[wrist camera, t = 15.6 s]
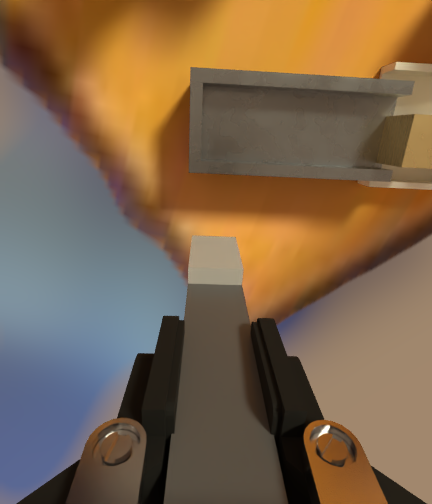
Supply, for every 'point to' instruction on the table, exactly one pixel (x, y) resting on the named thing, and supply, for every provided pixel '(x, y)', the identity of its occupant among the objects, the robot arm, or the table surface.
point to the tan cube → (406, 141)
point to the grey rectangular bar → (220, 392)
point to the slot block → (289, 124)
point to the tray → (420, 102)
